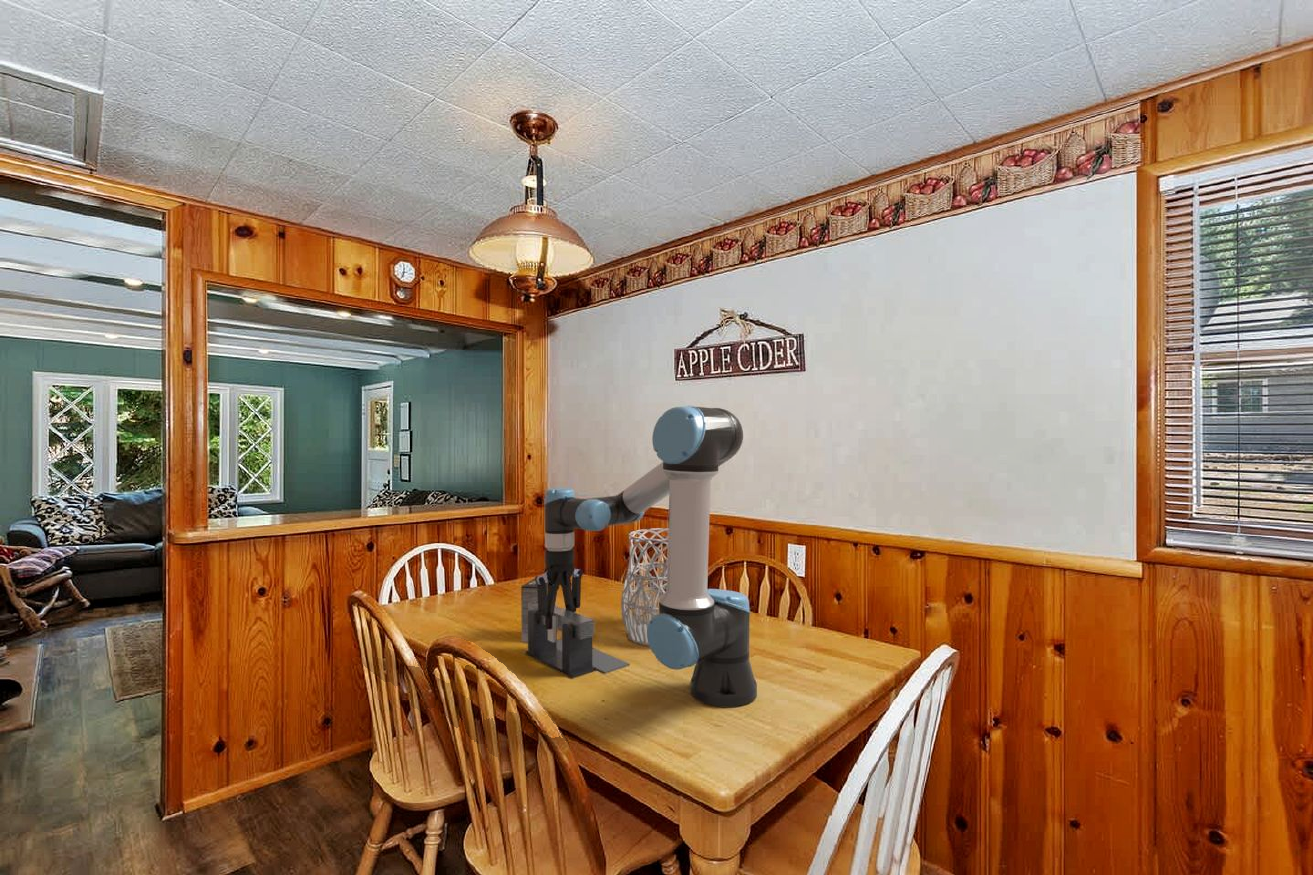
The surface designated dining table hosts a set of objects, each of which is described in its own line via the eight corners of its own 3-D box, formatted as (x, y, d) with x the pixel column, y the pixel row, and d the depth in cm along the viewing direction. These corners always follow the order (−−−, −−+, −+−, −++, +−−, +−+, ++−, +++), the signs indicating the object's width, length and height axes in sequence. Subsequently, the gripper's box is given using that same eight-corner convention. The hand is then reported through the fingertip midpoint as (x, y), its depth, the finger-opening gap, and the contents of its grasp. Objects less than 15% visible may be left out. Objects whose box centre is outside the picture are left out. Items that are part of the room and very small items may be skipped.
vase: (658, 656, 160) (659, 543, 159) (604, 634, 178) (604, 532, 178) (720, 636, 175) (721, 533, 175) (665, 617, 194) (665, 524, 194)
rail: (594, 635, 148) (594, 619, 148) (580, 639, 145) (580, 623, 145) (541, 614, 166) (541, 600, 166) (528, 617, 163) (528, 603, 163)
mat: (629, 665, 154) (629, 663, 154) (605, 673, 148) (605, 671, 148) (566, 638, 174) (566, 636, 174) (543, 644, 169) (543, 643, 169)
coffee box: (533, 631, 179) (533, 578, 179) (553, 633, 178) (554, 579, 178) (520, 642, 170) (520, 585, 170) (541, 643, 169) (542, 586, 169)
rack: (595, 670, 150) (596, 622, 150) (572, 678, 145) (572, 628, 145) (547, 647, 166) (547, 604, 166) (525, 653, 161) (525, 609, 161)
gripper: (578, 542, 164) (578, 628, 164) (522, 550, 152) (522, 642, 152) (594, 546, 159) (594, 634, 159) (538, 554, 147) (538, 650, 147)
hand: (559, 638), depth 155 cm, fingers closed on rail, 4 cm apart
